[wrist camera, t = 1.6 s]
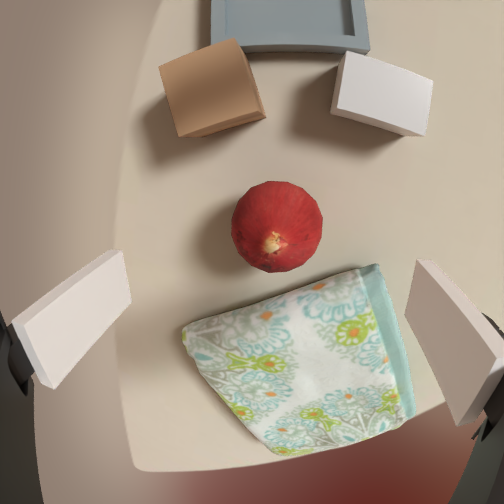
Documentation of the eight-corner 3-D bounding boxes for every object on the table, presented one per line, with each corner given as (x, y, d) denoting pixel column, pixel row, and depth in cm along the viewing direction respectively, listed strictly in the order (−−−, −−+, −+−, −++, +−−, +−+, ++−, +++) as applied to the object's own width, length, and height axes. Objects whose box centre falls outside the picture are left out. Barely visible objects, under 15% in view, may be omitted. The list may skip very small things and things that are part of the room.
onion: (299, 259, 23) (299, 315, 16) (231, 232, 23) (202, 276, 16) (329, 193, 21) (348, 222, 14) (258, 163, 21) (238, 175, 14)
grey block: (338, 65, 18) (346, 50, 14) (411, 89, 17) (433, 81, 14) (329, 113, 19) (336, 107, 15) (403, 136, 19) (425, 136, 15)
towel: (274, 435, 33) (270, 466, 29) (186, 316, 28) (167, 349, 23) (410, 398, 28) (420, 430, 24) (372, 246, 22) (390, 273, 18)
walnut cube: (185, 79, 19) (158, 66, 15) (247, 58, 18) (234, 37, 14) (203, 137, 21) (178, 137, 16) (266, 117, 20) (258, 110, 15)
